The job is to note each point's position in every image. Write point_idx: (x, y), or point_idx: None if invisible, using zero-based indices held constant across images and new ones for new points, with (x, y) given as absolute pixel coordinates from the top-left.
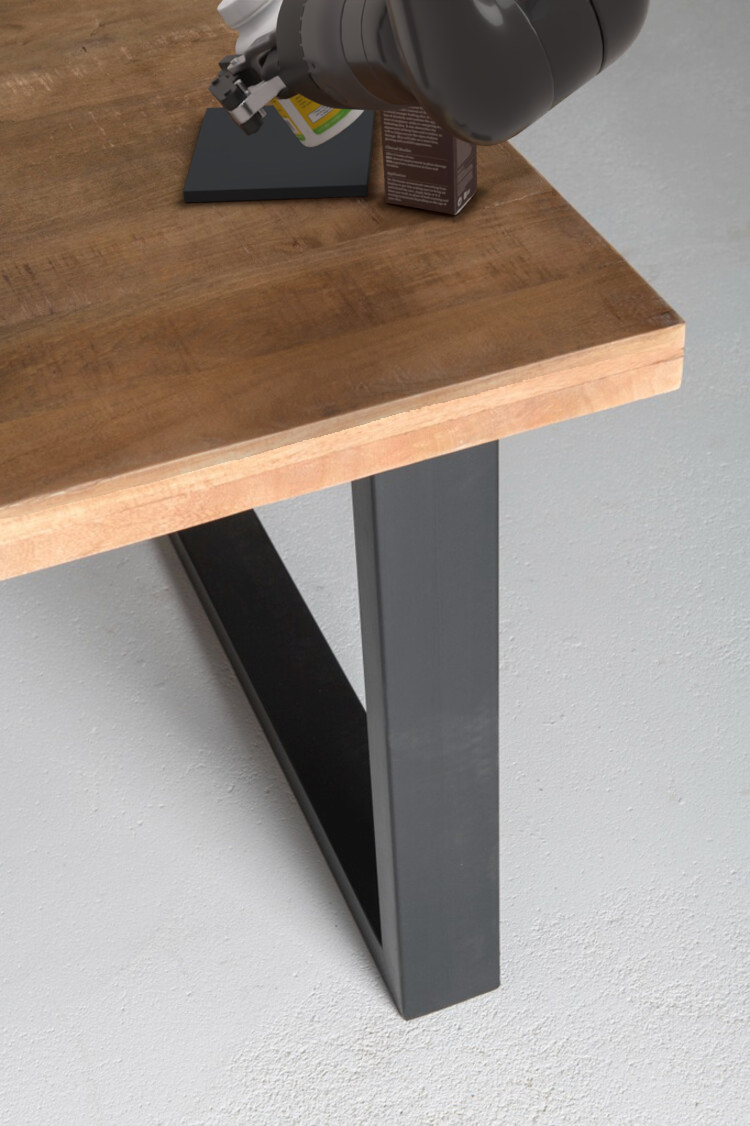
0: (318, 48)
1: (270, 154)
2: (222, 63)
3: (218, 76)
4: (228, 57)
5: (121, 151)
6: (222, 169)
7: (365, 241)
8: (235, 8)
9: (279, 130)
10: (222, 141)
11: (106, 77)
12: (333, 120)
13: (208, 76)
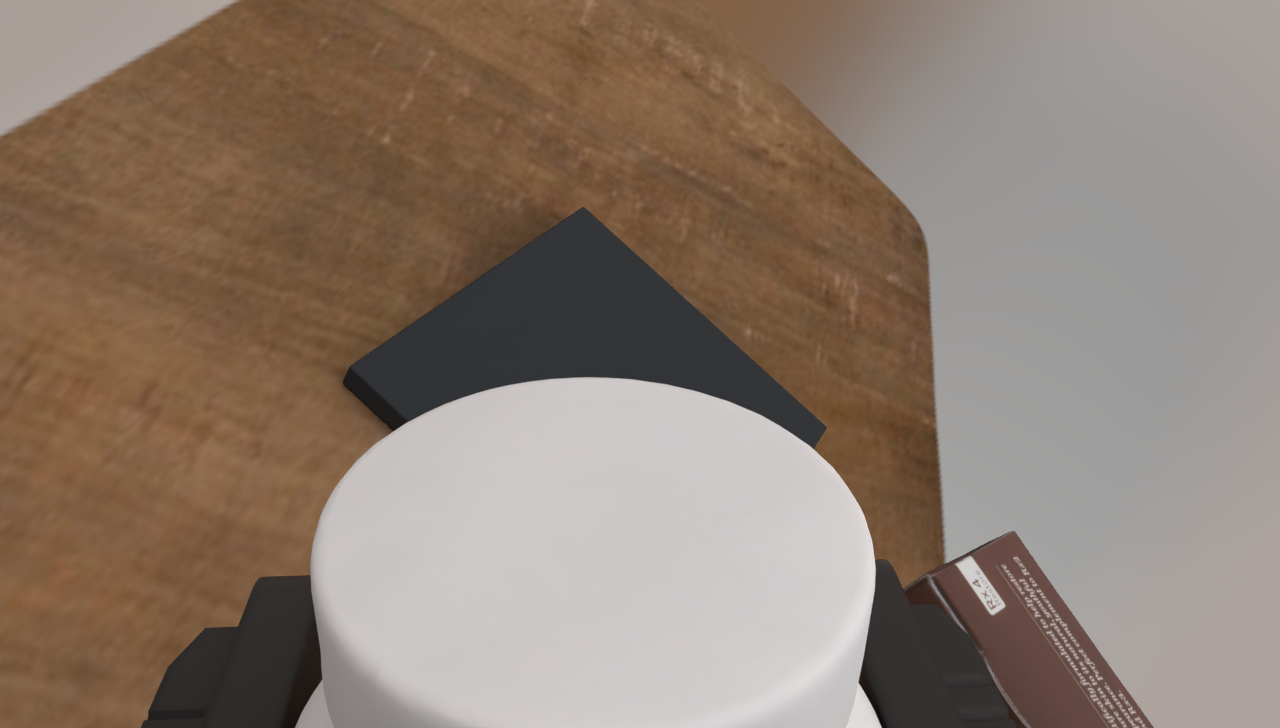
0: None
1: None
2: (235, 641)
3: (167, 676)
4: (278, 653)
5: (385, 162)
6: (471, 372)
7: None
8: (362, 707)
9: (642, 361)
10: (536, 301)
11: (522, 20)
12: None
13: (649, 144)
